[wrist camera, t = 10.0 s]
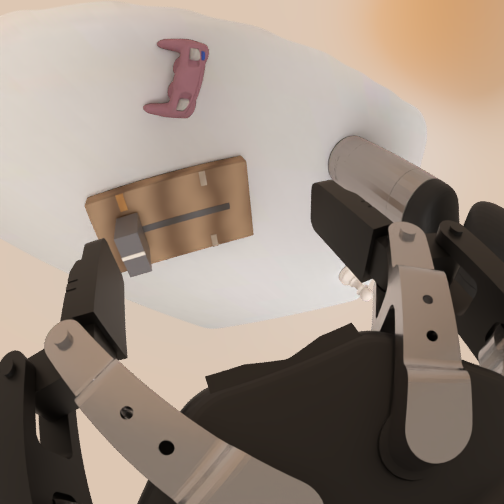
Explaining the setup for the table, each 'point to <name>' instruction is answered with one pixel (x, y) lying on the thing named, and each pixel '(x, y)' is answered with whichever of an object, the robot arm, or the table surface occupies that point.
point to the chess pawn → (355, 284)
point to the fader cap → (132, 245)
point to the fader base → (179, 209)
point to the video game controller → (182, 78)
